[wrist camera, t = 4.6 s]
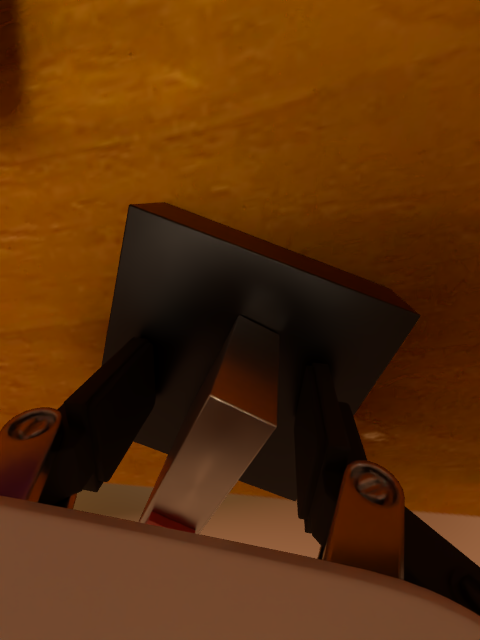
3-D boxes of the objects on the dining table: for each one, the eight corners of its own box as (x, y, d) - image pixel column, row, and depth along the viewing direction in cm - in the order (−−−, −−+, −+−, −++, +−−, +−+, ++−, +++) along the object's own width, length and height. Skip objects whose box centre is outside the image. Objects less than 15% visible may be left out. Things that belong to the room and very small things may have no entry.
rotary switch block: (390, 288, 12) (422, 315, 9) (293, 450, 16) (295, 501, 13) (163, 202, 12) (128, 203, 9) (123, 386, 16) (90, 426, 13)
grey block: (239, 313, 10) (206, 401, 6) (280, 334, 10) (277, 436, 6) (183, 419, 12) (130, 540, 8) (217, 436, 12) (182, 563, 8)
